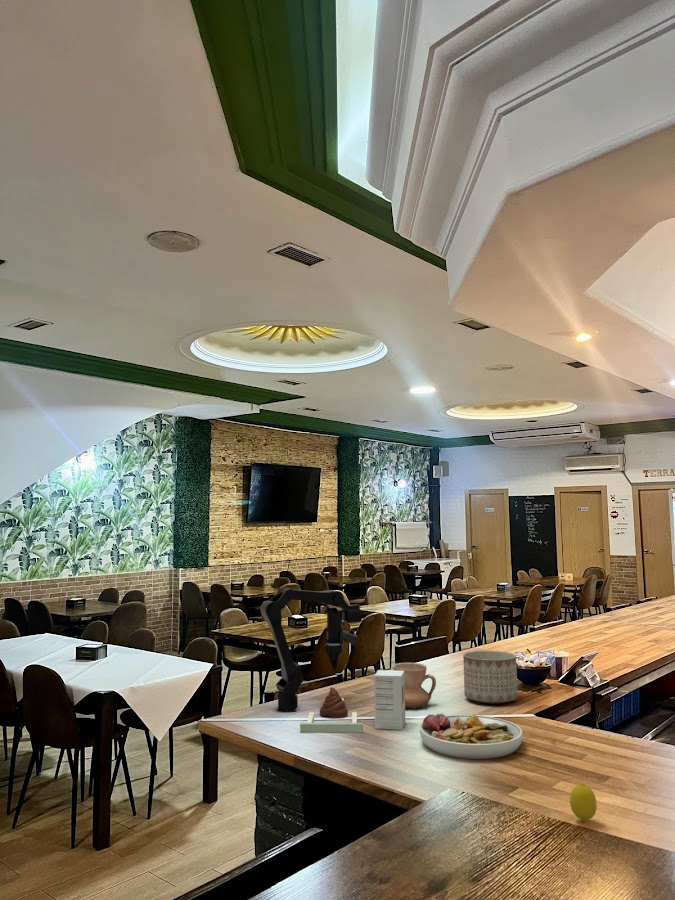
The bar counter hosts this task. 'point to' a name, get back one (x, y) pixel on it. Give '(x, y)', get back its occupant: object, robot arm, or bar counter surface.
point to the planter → (490, 676)
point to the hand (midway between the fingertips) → (335, 667)
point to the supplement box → (389, 699)
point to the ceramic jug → (415, 684)
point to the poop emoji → (333, 705)
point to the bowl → (470, 736)
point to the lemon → (583, 802)
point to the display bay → (330, 726)
